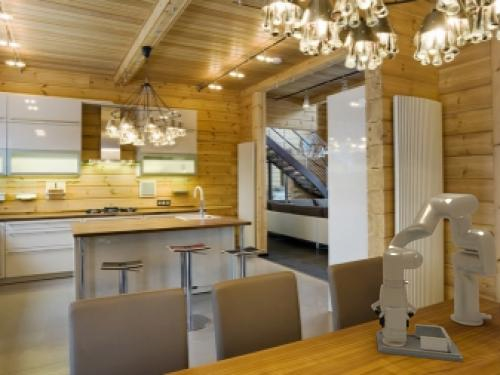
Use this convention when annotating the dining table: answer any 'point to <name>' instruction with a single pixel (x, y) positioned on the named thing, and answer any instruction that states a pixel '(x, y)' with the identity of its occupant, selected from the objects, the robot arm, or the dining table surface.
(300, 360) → the dining table surface
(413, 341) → the base plate
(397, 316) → the supplement box
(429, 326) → the collar
